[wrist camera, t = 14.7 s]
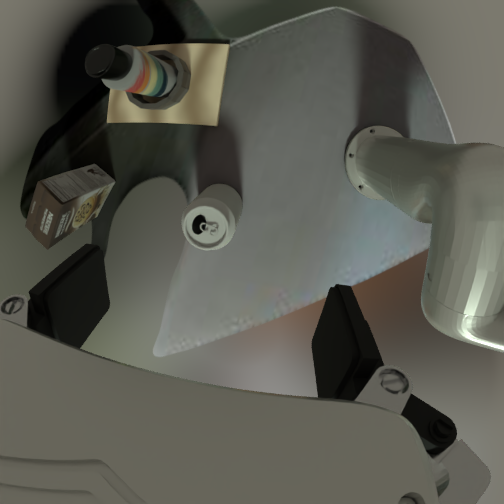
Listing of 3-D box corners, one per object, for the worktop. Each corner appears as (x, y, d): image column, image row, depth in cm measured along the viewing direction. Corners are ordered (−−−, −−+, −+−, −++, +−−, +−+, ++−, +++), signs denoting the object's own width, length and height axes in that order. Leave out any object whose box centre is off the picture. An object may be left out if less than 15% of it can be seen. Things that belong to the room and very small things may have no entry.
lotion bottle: (143, 87, 37) (67, 73, 19) (163, 60, 35) (96, 27, 17) (167, 104, 39) (98, 95, 21) (189, 76, 37) (131, 46, 18)
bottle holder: (230, 46, 35) (224, 36, 30) (217, 126, 41) (211, 125, 36) (120, 50, 35) (105, 45, 30) (110, 122, 41) (94, 123, 36)
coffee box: (98, 217, 49) (47, 252, 34) (76, 199, 48) (23, 227, 33) (117, 180, 46) (62, 206, 31) (94, 161, 44) (36, 180, 30)
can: (206, 176, 45) (186, 192, 34) (249, 191, 45) (242, 213, 34) (194, 216, 48) (171, 243, 37) (234, 231, 48) (223, 263, 38)
